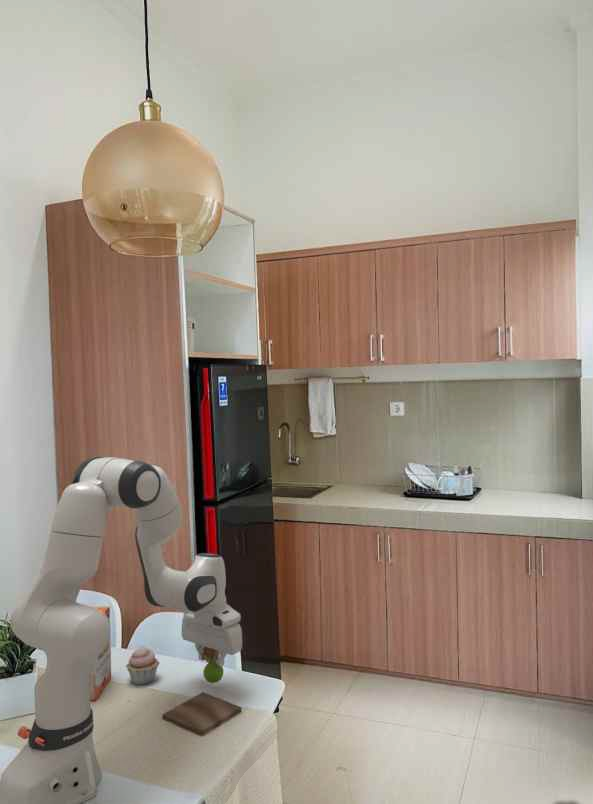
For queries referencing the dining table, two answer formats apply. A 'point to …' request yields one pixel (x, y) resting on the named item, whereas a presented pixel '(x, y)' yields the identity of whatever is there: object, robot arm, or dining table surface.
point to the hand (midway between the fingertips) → (211, 662)
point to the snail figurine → (212, 666)
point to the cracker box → (101, 664)
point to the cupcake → (142, 666)
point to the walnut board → (201, 713)
